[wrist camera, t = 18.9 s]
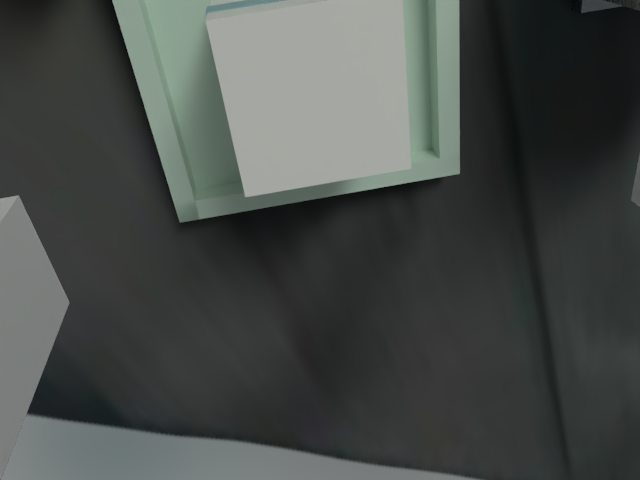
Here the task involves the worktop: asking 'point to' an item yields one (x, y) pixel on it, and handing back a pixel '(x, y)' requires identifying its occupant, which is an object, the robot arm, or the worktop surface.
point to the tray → (212, 123)
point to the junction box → (603, 5)
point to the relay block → (312, 89)
